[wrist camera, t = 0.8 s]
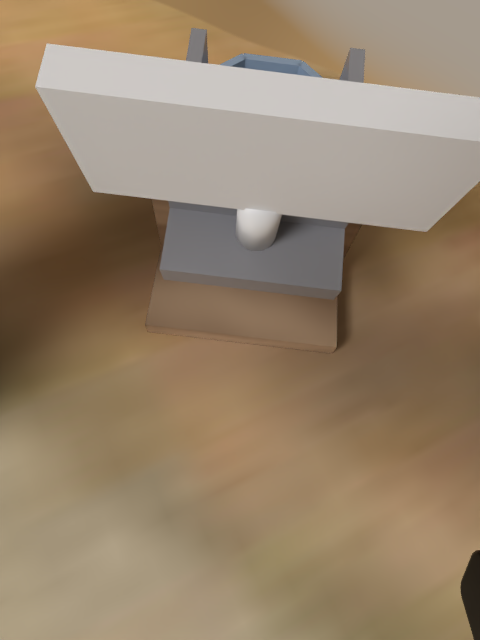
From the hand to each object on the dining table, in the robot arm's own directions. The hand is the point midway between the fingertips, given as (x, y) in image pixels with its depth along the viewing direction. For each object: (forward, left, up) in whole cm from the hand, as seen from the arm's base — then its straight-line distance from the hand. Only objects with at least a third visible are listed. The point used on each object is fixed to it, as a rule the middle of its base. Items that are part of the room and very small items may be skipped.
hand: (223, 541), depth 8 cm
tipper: (+11, -8, -6) cm, 15 cm away
